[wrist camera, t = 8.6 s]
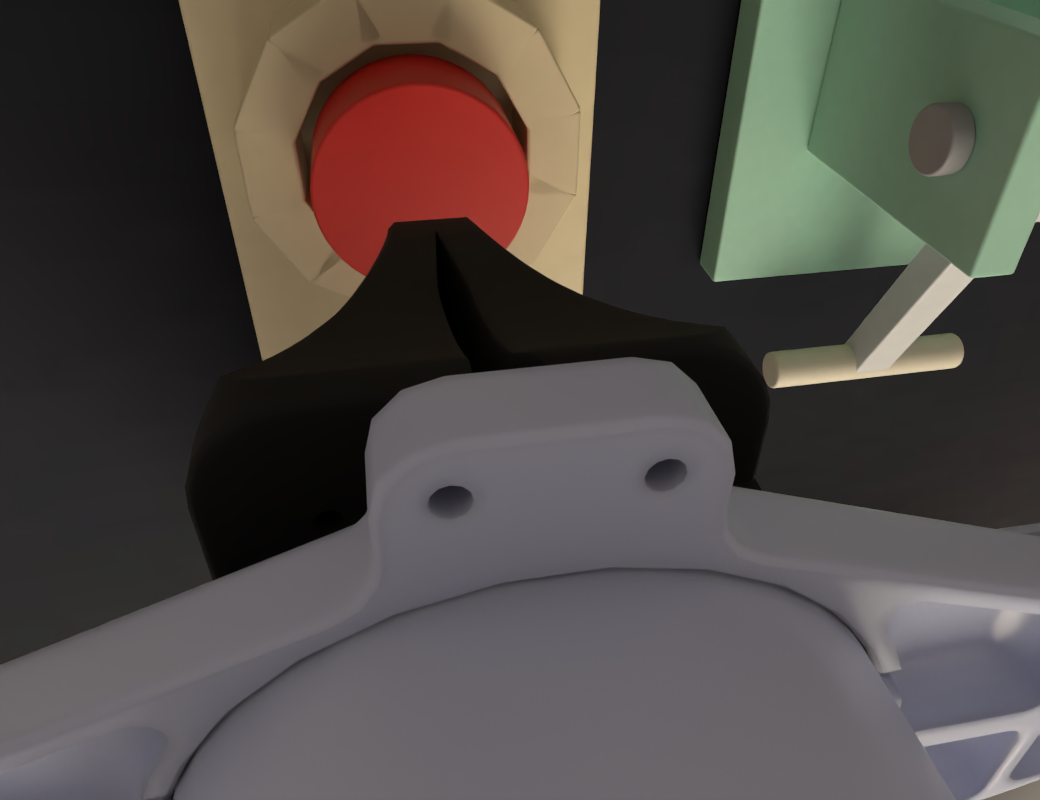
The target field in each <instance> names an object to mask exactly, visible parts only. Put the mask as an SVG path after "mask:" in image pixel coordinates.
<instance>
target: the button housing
mask: <svg viewBox="0 0 1040 800" xmlns="http://www.w3.org/2000/svg"><path fill="white" fill-rule="evenodd" d="M179 5H180V9H181V13H182V18H183V22H184V26H185V30H186V35H187V39H188V43H189V48H190V52H191V56H192V61H193V65H194V69H195V73H196V78H197V82H198V86H199V91H200V95H201V99H202V104H203V108H204V112H205V116H206V121H207V125H208V129H209V134H210V138H211V142H212V146H213V151H214V155H215V159H216V164H217V168H218V172H219V177H220V181H221V185H222V189H223V194H224V198H225V202H226V207H227V211H228V215H229V220H230V224H231V228H232V232H233V237H234V241H235V245H236V250H237V254H238V258H239V262H240V267H241V271H242V275H243V280H244V284H245V288H246V293H247V297H248V301H249V305H250V310H251V314H252V318H253V323H254V327H255V331H256V336H257V340H258V344H259V348H260V353H261V357H262V361H263V360H266V359H268V358H270V357H272V356H274V355H276V354H278V353H280V352H282V351H283V350H285V349H287V348H289V347H291V346H292V345H294V344H296V343H297V342H299V341H301V340H302V339H304V338H305V337H307V336H308V335H309V334H311V333H312V332H313V331H315V330H316V329H317V328H319V327H320V326H321V325H323V324H324V323H325V322H327V321H328V320H329V319H330V318H332V317H333V316H334V315H335V314H336V313H337V312H338V311H339V310H340V309H341V308H342V307H343V306H344V305H345V303H346V302H347V301H348V300H349V299H350V298H351V296H352V295H353V294H354V292H355V291H356V290H357V288H358V287H359V285H360V284H361V283H362V281H363V280H364V278H365V277H366V276H364V275H362V274H361V273H359V272H358V271H356V270H354V269H353V268H352V267H351V266H349V265H348V264H347V263H346V262H344V261H343V260H342V259H341V258H340V257H339V256H338V255H337V254H336V253H335V251H334V250H333V249H332V248H331V246H330V245H329V244H328V242H327V241H326V239H325V238H324V236H323V234H322V232H321V230H320V228H319V226H318V223H317V221H316V218H315V216H314V212H313V208H312V203H311V195H310V174H311V156H312V139H313V134H314V129H315V125H316V122H317V119H318V116H319V113H320V111H321V109H322V107H323V106H324V104H325V102H326V100H327V99H328V97H329V96H330V95H331V93H332V92H333V90H334V89H335V88H336V87H337V86H338V85H339V84H340V83H341V82H342V81H343V80H344V79H345V78H346V77H348V76H349V75H350V74H351V73H353V72H354V71H356V70H357V69H359V68H361V67H363V66H364V65H366V64H368V63H371V62H373V61H376V60H378V59H382V58H385V57H389V56H394V55H403V54H422V55H428V56H434V57H438V58H441V59H444V60H447V61H450V62H452V63H454V64H456V65H459V66H461V67H462V68H464V69H465V70H467V71H469V72H470V73H472V74H473V75H474V76H476V77H477V78H478V79H479V80H480V81H481V82H483V83H484V84H485V86H486V87H487V88H488V89H489V90H490V91H491V92H492V93H493V95H494V96H495V98H496V99H497V101H498V102H499V104H500V106H501V107H502V109H503V111H504V113H505V115H506V117H507V119H508V121H509V123H510V125H511V127H512V129H513V131H514V133H515V135H516V137H517V139H518V141H519V143H520V145H521V147H522V149H523V152H524V155H525V158H526V162H527V168H528V173H529V197H528V203H527V208H526V213H525V215H524V218H523V221H522V224H521V226H520V228H519V230H518V232H517V234H516V236H515V238H514V239H513V241H512V242H511V243H510V245H509V246H508V248H507V249H506V250H507V251H509V252H510V253H511V254H513V255H514V256H515V257H517V258H518V259H520V260H521V261H523V262H524V263H525V264H527V265H528V266H530V267H532V268H533V269H535V270H536V271H538V272H540V273H541V274H543V275H544V276H546V277H548V278H549V279H551V280H553V281H555V282H557V283H559V284H561V285H563V286H565V287H567V288H569V289H571V290H573V291H575V292H577V293H579V294H582V295H583V280H584V263H585V247H586V230H587V213H588V197H589V180H590V163H591V147H592V130H593V114H594V97H595V80H596V64H597V47H598V30H599V14H600V0H179Z"/></svg>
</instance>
